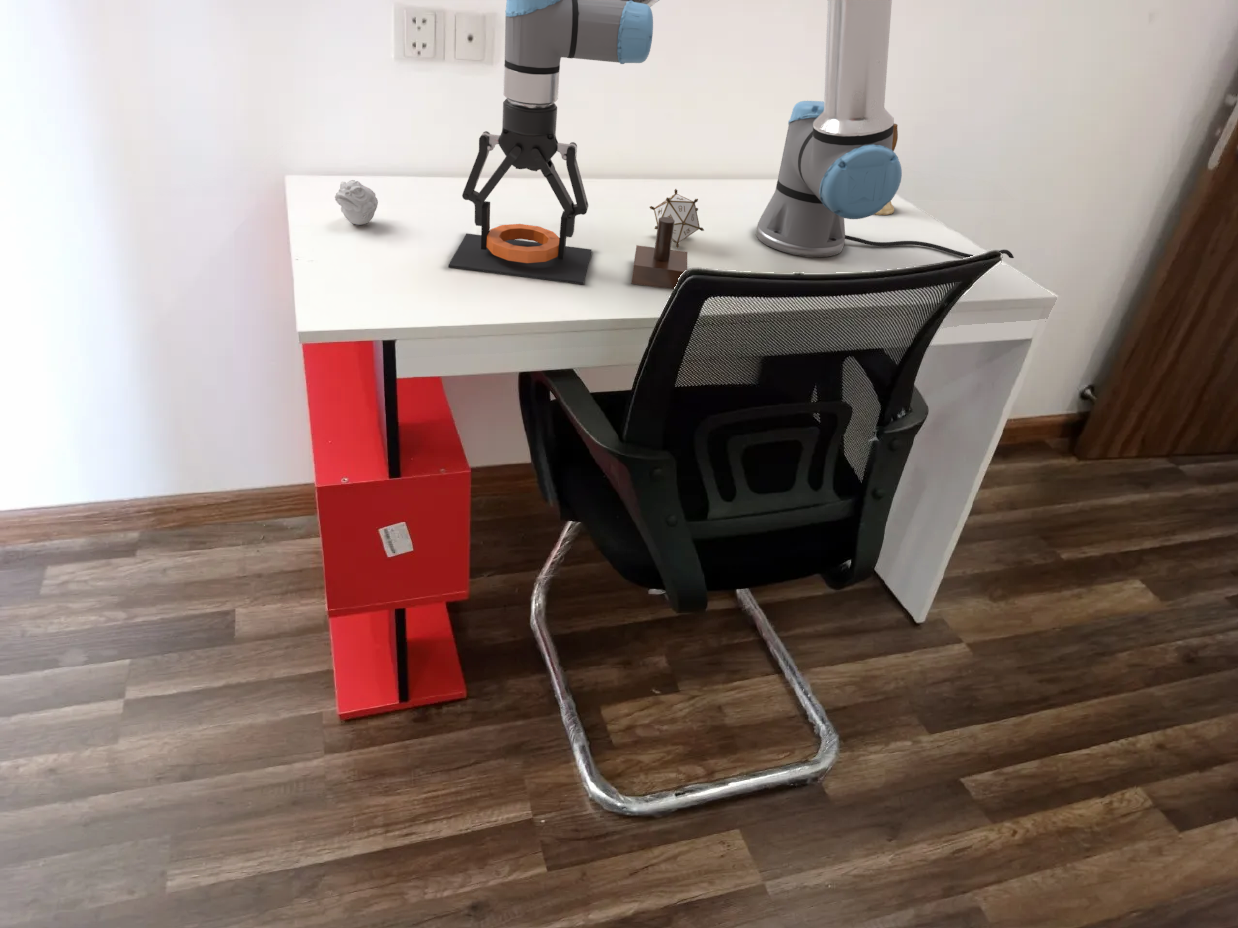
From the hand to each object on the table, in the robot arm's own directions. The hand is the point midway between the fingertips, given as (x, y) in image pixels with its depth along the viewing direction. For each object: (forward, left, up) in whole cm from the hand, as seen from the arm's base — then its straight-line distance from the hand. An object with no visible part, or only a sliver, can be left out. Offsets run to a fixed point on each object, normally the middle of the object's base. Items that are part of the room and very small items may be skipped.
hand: (523, 251), depth 138 cm
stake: (-21, 0, -1) cm, 21 cm away
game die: (-23, -15, -2) cm, 28 cm away
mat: (0, 0, -1) cm, 1 cm away
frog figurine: (+27, -5, -2) cm, 28 cm away
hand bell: (-62, -47, -2) cm, 78 cm away
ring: (0, 0, 0) cm, 0 cm away
